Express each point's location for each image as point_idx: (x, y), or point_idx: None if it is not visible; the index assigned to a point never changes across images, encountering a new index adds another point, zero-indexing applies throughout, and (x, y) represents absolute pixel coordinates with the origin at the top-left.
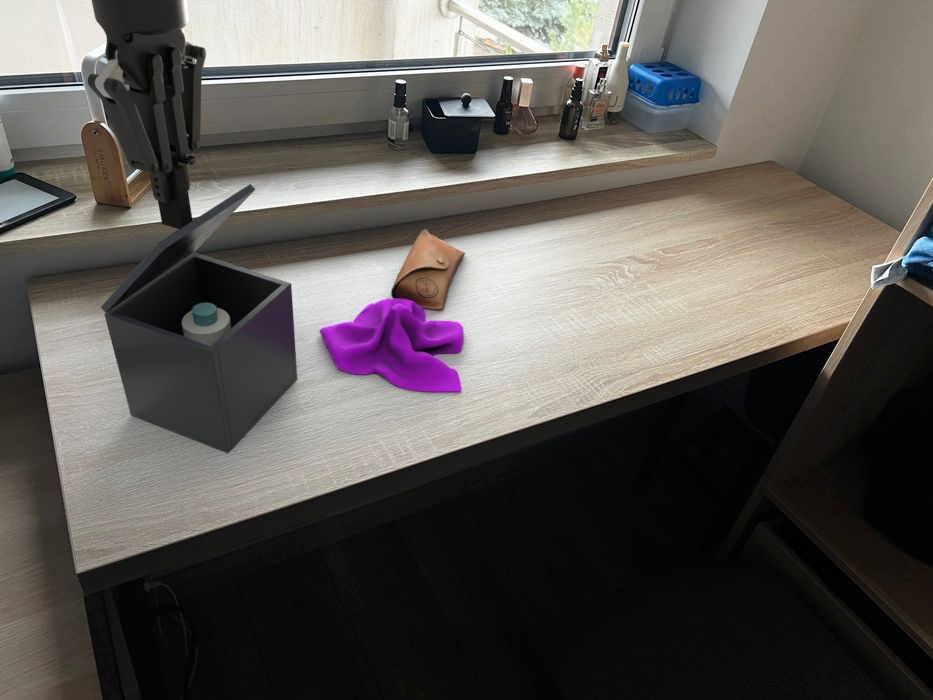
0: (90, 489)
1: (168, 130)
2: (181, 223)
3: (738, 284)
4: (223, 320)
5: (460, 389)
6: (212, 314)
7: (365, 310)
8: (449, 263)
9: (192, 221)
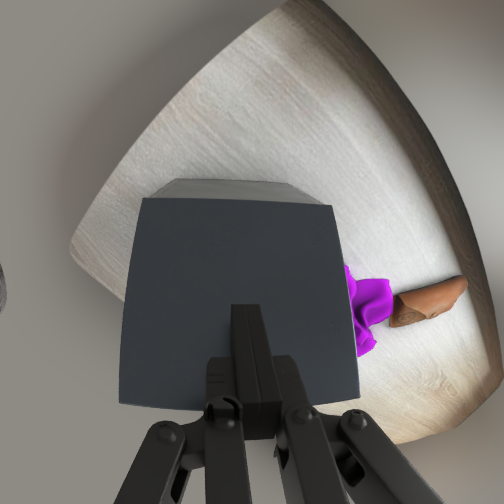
0: (102, 209)
1: (293, 500)
2: (230, 351)
3: (421, 416)
4: None
5: None
6: None
7: (378, 282)
8: (433, 317)
9: (199, 410)
